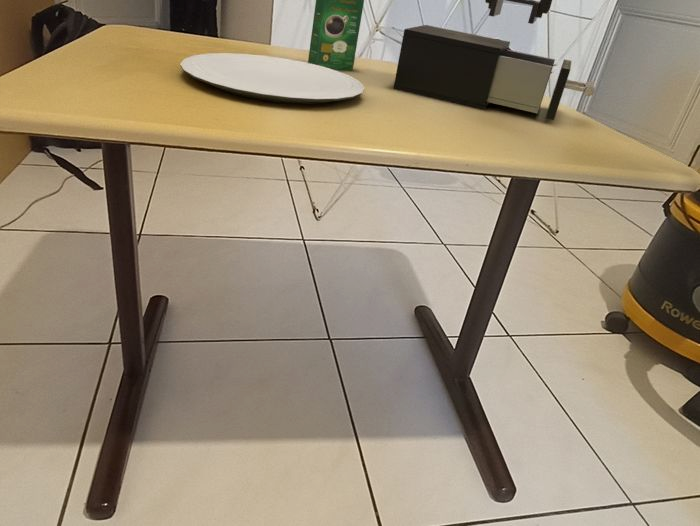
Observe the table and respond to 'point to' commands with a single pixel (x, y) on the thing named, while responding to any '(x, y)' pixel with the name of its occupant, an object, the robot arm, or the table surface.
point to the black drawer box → (448, 65)
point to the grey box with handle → (530, 82)
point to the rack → (498, 3)
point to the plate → (272, 78)
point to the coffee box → (335, 33)
